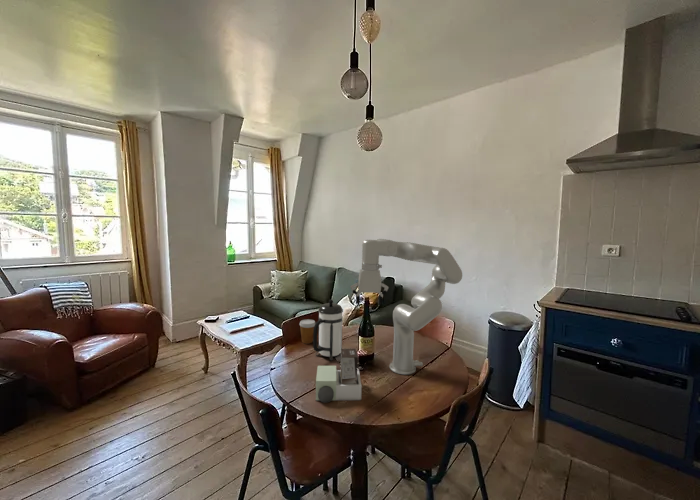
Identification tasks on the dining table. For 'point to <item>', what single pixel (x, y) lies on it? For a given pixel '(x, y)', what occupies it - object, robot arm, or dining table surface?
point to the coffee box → (348, 366)
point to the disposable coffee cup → (307, 330)
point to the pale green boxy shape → (335, 385)
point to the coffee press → (328, 330)
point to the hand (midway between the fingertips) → (369, 304)
